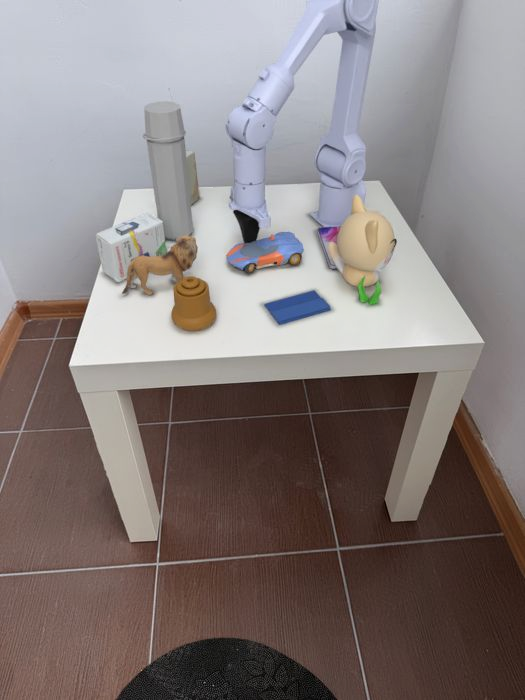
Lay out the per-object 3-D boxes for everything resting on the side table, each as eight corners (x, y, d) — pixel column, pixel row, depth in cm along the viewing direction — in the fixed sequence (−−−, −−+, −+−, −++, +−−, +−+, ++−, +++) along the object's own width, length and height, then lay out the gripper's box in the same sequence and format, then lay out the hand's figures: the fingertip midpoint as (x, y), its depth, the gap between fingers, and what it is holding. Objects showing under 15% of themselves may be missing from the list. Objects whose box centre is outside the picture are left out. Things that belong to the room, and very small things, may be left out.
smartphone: (330, 266, 97) (316, 227, 108) (329, 270, 97) (316, 230, 108) (367, 263, 97) (349, 225, 108) (366, 267, 98) (349, 228, 109)
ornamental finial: (211, 302, 89) (220, 329, 84) (169, 309, 88) (175, 336, 83) (208, 264, 84) (217, 290, 79) (163, 270, 83) (169, 297, 77)
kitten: (401, 303, 90) (419, 227, 80) (346, 309, 88) (358, 233, 78) (372, 258, 101) (385, 186, 90) (323, 263, 99) (331, 190, 89)
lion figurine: (195, 269, 97) (190, 227, 91) (205, 284, 94) (201, 241, 88) (119, 288, 92) (109, 245, 86) (126, 304, 89) (117, 261, 83)
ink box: (148, 211, 96) (92, 232, 90) (164, 221, 94) (108, 243, 87) (153, 250, 102) (101, 272, 96) (169, 260, 100) (117, 284, 93)
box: (200, 198, 119) (196, 151, 112) (190, 206, 116) (186, 158, 109) (181, 194, 121) (176, 147, 113) (171, 201, 118) (165, 154, 110)
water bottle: (200, 236, 106) (189, 110, 89) (164, 245, 103) (146, 116, 86) (185, 217, 112) (172, 95, 95) (151, 225, 109) (131, 101, 92)
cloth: (314, 291, 92) (314, 288, 92) (330, 310, 88) (331, 307, 88) (264, 305, 89) (264, 302, 89) (279, 325, 85) (279, 322, 85)
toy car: (221, 257, 100) (220, 233, 97) (290, 243, 104) (292, 220, 101) (234, 279, 95) (233, 254, 91) (307, 263, 99) (309, 239, 95)
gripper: (214, 167, 96) (218, 231, 105) (244, 199, 86) (245, 266, 95) (249, 161, 98) (249, 224, 107) (282, 191, 88) (279, 258, 97)
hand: (250, 244), depth 101 cm, fingers closed
